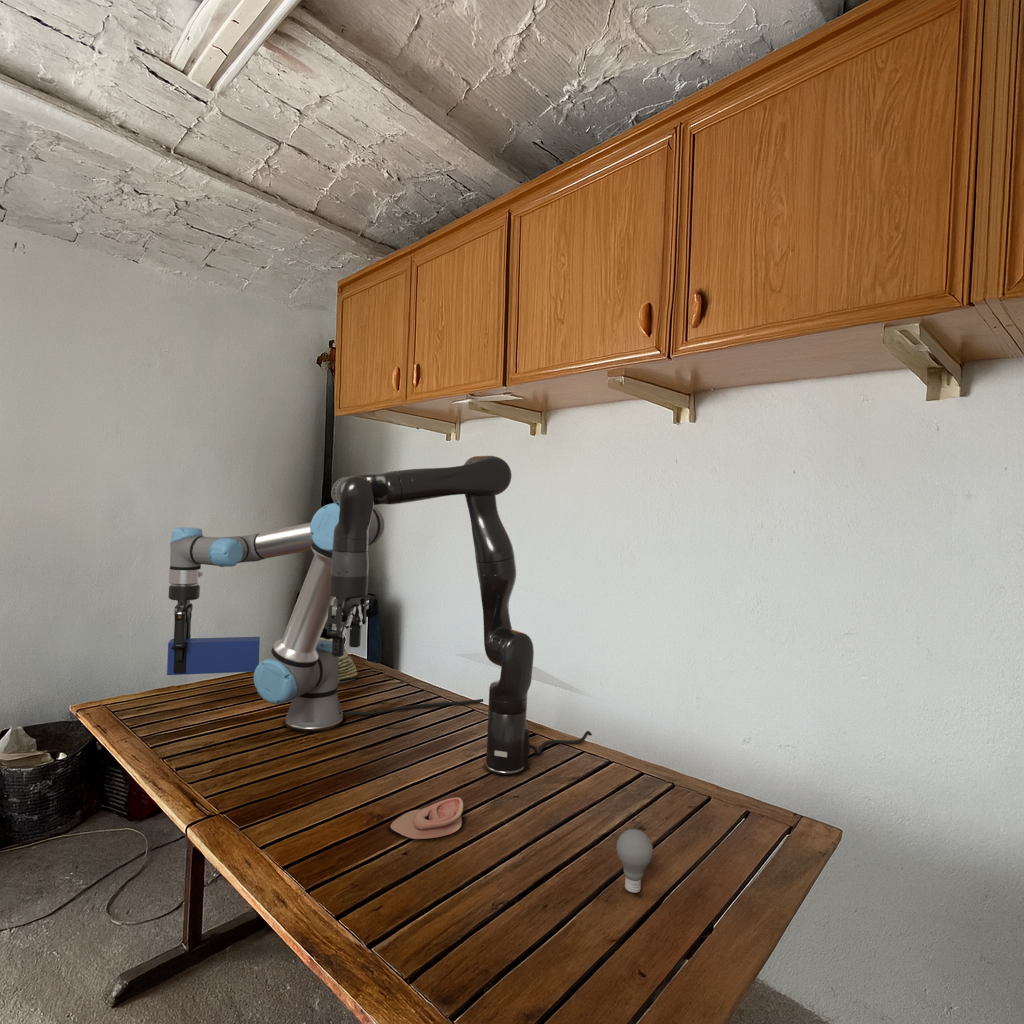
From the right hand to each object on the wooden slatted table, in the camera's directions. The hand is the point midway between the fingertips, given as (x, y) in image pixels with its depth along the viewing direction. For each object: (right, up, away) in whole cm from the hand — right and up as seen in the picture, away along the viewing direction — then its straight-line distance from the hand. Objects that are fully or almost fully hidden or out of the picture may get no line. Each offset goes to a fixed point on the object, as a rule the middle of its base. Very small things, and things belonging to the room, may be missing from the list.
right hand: (346, 651), depth 130 cm
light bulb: (+54, -35, -25) cm, 69 cm away
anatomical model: (+17, -33, -6) cm, 38 cm away
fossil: (-28, -29, +85) cm, 94 cm away
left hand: (-56, -14, +42) cm, 72 cm away
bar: (-48, -15, +45) cm, 68 cm away
